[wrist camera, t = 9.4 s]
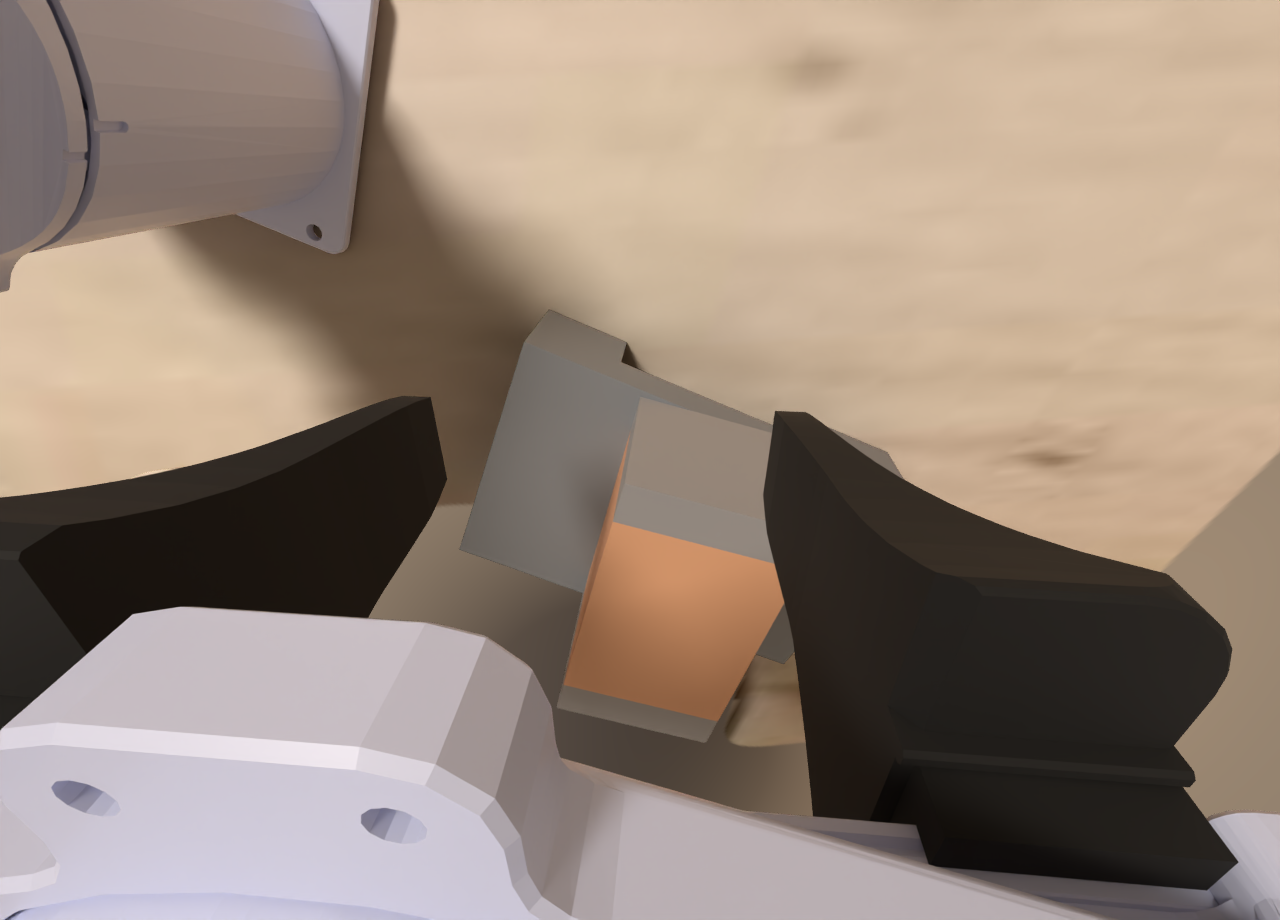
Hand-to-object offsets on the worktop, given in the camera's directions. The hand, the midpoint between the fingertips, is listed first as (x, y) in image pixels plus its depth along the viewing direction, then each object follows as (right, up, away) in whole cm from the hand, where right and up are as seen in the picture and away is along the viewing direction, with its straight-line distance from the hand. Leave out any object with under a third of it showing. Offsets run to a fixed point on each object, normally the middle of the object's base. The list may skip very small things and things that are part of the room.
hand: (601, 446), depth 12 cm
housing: (+2, -3, +8) cm, 9 cm away
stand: (+2, -1, +11) cm, 12 cm away
